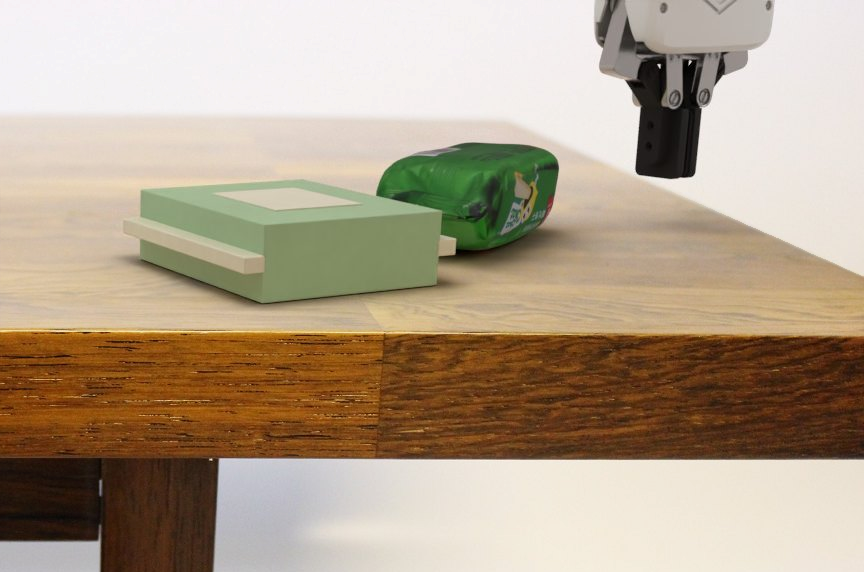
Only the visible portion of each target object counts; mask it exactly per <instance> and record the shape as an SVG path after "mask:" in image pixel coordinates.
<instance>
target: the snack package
mask: <svg viewBox="0 0 864 572" xmlns="http://www.w3.org/2000/svg"><path fill="white" fill-rule="evenodd" d="M559 174H560V164H559V160H558V158H557V157H556V156H555V155H554V154H553V153H552V152H551V151H549V150H547V149H544V148H542V147H539V146H534V145H530V144H522V143H521V144H520V143H494V142H493V143H492V142H476V141H475V142H473V141H472V142H471V141H470V142H463V143H462V142H461V143H458V144H454V145H450V146H447V147H442V148H437V149H431V150H423V151H418V152H416V153H415V152H414V153H412V154H410V155H408V156H405V157H402V158H400V159H398V160H396V161H394V162H393V163H391V165H390V166H388V167H387V168H386V169H385V170H384V171H383V173H382V175H381V177H380V180H379V181H378V185H377V187H376V188H377V189H376V193H375V196H379V197H383V198H388V199H392V200H396V201H401V202H405V203H410V204H414V205H419V206H423V207H427V208H432V209H436V210H441V211H442V220H441V233H440V235H444V236H448V237H452V238H455V239H456V250H464V251H482V250H488V249H492V248H496V247H500V246H503V245H506V244H509V243H510V242H513V241H516V240H518V239H520V238H521V237H523V236H525V235H527V234H530V233H531V232H533V231H535V230H537V228H539V227H540V226H541V225H543V223H544V222H545V221H546V219H547V218H548V217H549V215H550V213H551V211H552V209H553V205H554V201H555V196H556V191H557V184H558V180H559Z"/></svg>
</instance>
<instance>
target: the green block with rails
mask: <svg viewBox="0 0 864 572" xmlns="http://www.w3.org/2000/svg"><path fill="white" fill-rule="evenodd" d="M139 200H140V202H139V204H140V209H139V213H140V215H139V216H131V217H123V219H122V224H123V225H122V233H123V234H125V235H127V236H131V237H134V238H137V239H139V259H140V260H142V261H145V262H147V263H150V264H153V265H156V266H159V267H161V268H164V269H167V270H170V271H172V272H175V273H177V274H181V275H183V276H186V277H189V278H192V279H194V280H196V281H200V282H203V283H205V284H208V285H211V286H213V287H216V288H219V289H222V290H225V291H227V292H230V293H233V294H234V295H235V294H236V295H238V296H241V297H244V298H246V299H249V300H252V301H254V302H257V303H260V304H270V303H278V302H279V303H280V302H289V301H298V300H308V299H316V298H317V299H318V298H327V297H335V296H336V297H337V296H345V295H346V296H347V295H354V294H355V295H356V294H364V293H375V292H382V291H393V290H402V289H410V288H411V289H412V288H422V287H429V286H430V287H431V286H437V284H438V272H439V271H438V270H439V259H440V258H439V257H445V256H455V255H456V250H457V249H456V239H455V238H452V237H448V236H444V235H440V233H441V220H442V211H441V210H436V209H432V208H427V207H423V206H419V205H414V204H410V203H405V202H401V201H396V200H392V199H388V198H383V197H379V196H376V195H373V194H369V193H365V192H360V191H356V190H352V189H347V188H343V187H339V186H335V185H329V184H326V183H321V182H316V181H312V180H307V179H303V178H302V179H287V180H271V181H269V180H268V181H254V182H253V181H252V182H237V183H222V184H221V183H220V184H207V185H188V186H175V187H172V186H171V187H157V188H141V189H140V199H139Z"/></svg>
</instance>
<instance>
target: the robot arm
mask: <svg viewBox="0 0 864 572" xmlns="http://www.w3.org/2000/svg"><path fill="white" fill-rule="evenodd" d="M774 12H775V0H594V6H593V33H594V38H595V42H596V43H597V45H599V47H600V48H602V51H601V55H600V60H599V64H598V68H599V72H600V73H601V74H602V75H606V76H609V77H612V78H616V79H619V80H624V81H625V83H626V84H627V86H628V87H629V89H630V91H631V99H632V100H631V101H632V103H633V105H634V106H635V107H637V108H639V120H638V130H637V131H638V133H637V142H636V155H635V168H634V172H635V173H636V175H638V176H642V177H649V178H650V177H651V178H658V179H666V180H678V179H680V178H681V179H688V178H693V177H694V176H695V174H696V171H697V163H698V162H697V161H698V153H699V144H700V143H699V142H700V132H701V131H700V130H701V122H702V112H703V111H702V110H703V108H706V107H708V106H709V105H710V103H711V102H712V98H713V93H714V89H715V87H716V86H717V84H718V83H719V81H720V80H721V79H722V78H723V76H727V75H730V74H732V73H734V72H737V71H739V70H742V69H744V68H745V67H746V66H747V64H748V62H749V51H752V50H757V48H760V47H762V46H763V45H764V44H765V43H766V42H767V41H768V40H769V38H770V36H771V32H772V27H773V19H774Z"/></svg>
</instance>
